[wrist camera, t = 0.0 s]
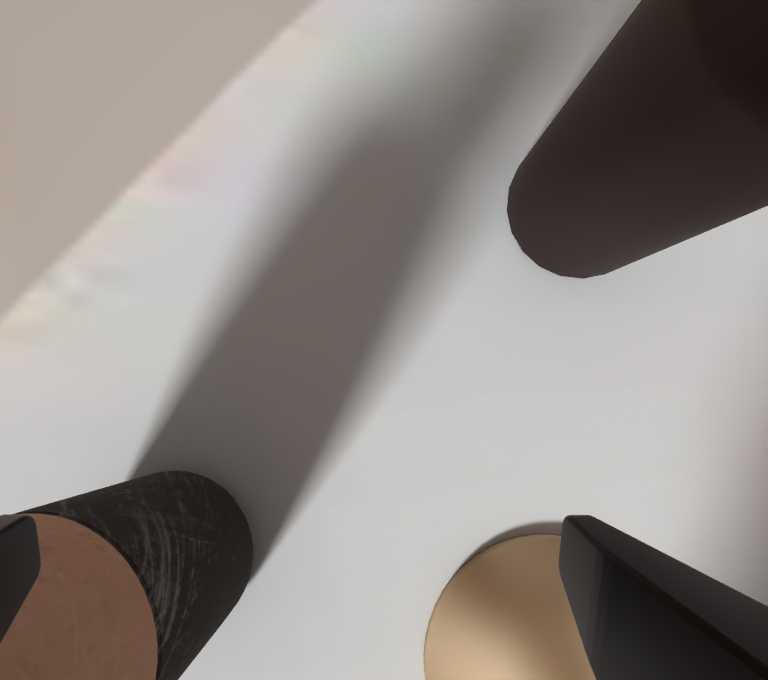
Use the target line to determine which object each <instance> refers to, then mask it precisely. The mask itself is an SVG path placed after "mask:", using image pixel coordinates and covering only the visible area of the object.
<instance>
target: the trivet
mask: <svg viewBox="0 0 768 680" xmlns="http://www.w3.org/2000/svg"><path fill="white" fill-rule="evenodd" d="M560 541H561V535H552V534H532V535H525V536H519V537H515V538H512V539H508V540H505V541H502V542H500V543H498V544H495V545H493V546H491V547H489V548H487V549H485V550H484V551H482V552H481V553H479V554H477V555H476V556H474V557H473V558H472V559H471V560H470V561H468V562H467V563H466V564H465V565H464V566H462V568H461V569H460V570H459V571H458V572H457V573H456V574H455V575H454V576H453V577H452V578H451V580H450V581H449V583H448V584H447V586H446V587H445V588H444V590H443V591H442V593H441V595H440V597H439V599H438V601H437V603H436V604H435V607H434V609H433V612H432V615H431V617H430V620H429V624H428V628H427V632H426V636H425V646H424V673H425V680H596V678H595V676H594V673H593V671H592V669H591V666H590V664H589V661H588V658H587V655H586V652H585V650H584V647H583V644H582V641H581V638H580V634H579V631H578V628H577V625H576V622H575V619H574V616H573V613H572V610H571V607H570V604H569V601H568V598H567V595H566V592H565V589H564V586H563V583H562V580H561V577H560V573H559V564H558V560H559V550H560Z"/></svg>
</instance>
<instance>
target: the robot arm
mask: <svg viewBox="0 0 768 680" xmlns="http://www.w3.org/2000/svg"><path fill="white" fill-rule="evenodd" d="M558 564H559V573H560V577H561V580H562V583H563V586H564V589H565V592H566V595H567V598H568V601H569V604H570V607H571V610H572V613H573V616H574V619H575V622H576V625H577V628H578V631H579V634H580V638H581V641H582V644H583V647H584V650H585V652H586V655H587V658H588V661H589V664H590V666H591V669H592V671H593V673H594V676H595V678H596V680H768V606H766V605H764V604H762V603H760V602H758V601H756V600H754V599H752V598H750V597H748V596H746V595H744V594H742V593H740V592H738V591H737V590H735V589H733V588H731V587H729V586H727V585H725V584H723V583H721V582H719V581H717V580H715V579H713V578H711V577H709V576H707V575H705V574H704V573H702V572H700V571H698V570H696V569H694V568H692V567H690V566H688V565H686V564H684V563H682V562H680V561H678V560H676V559H674V558H672V557H671V556H669V555H667V554H665V553H663V552H661V551H659V550H657V549H655V548H653V547H651V546H649V545H647V544H645V543H643V542H641V541H639V540H638V539H636V538H634V537H632V536H630V535H628V534H626V533H624V532H622V531H620V530H618V529H616V528H614V527H612V526H610V525H608V524H606V523H604V522H603V521H601V520H599V519H597V518H595V517H593V516H590V515H568V516H566V517H565V518H564V520H563V523H562V531H561V541H560V550H559V560H558ZM40 568H41V556H40V548H39V541H38V533H37V526H36V522H35V520H34V518H33V517H31V516H30V515H1V516H0V644H1V642H2V641H3V639H4V637H5V635H6V633H7V632H8V630H9V628H10V626H11V625H12V623H13V621H14V619H15V617H16V616H17V614H18V612H19V610H20V608H21V607H22V605H23V603H24V601H25V600H26V598H27V596H28V594H29V592H30V591H31V589H32V587H33V585H34V583H35V582H36V580H37V578H38V575H39V572H40Z"/></svg>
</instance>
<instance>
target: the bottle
mask: <svg viewBox="0 0 768 680" xmlns="http://www.w3.org/2000/svg"><path fill="white" fill-rule="evenodd" d="M766 206H768V0H642V1H641V2H640V3H639V5H638V6H637V7H636V9H635V10H634V11H633V13H632V14H631V15H630V17H629V18H628V19H627V21H626V22H625V24H624V25H623V26H622V28H621V29H620V30H619V32H618V33H617V34H616V36H615V37H614V38H613V40H612V41H611V43H610V44H609V45H608V47H607V48H606V49H605V51H604V52H603V53H602V55H601V56H600V57H599V59H598V60H597V62H596V63H595V64H594V66H593V67H592V68H591V70H590V71H589V72H588V74H587V75H586V76H585V78H584V79H583V81H582V82H581V83H580V85H579V86H578V87H577V89H576V90H575V91H574V93H573V94H572V95H571V97H570V98H569V100H568V101H567V102H566V104H565V105H564V106H563V108H562V109H561V110H560V112H559V113H558V114H557V116H556V117H555V119H554V120H553V121H552V123H551V124H550V125H549V127H548V128H547V129H546V131H545V132H544V133H543V135H542V136H541V137H540V139H539V140H538V142H537V143H536V144H535V146H534V147H533V148H532V150H531V151H530V152H529V154H528V155H527V156H526V158H525V159H524V161H523V162H522V163H521V165H520V166H519V167H518V169H517V171H516V174H515V176H514V178H513V180H512V183H511V185H510V187H509V195H508V205H507V213H508V218H509V222H510V227H511V231H512V234H513V235H514V237H515V239H516V241H517V242H518V244H519V246H520V247H521V249H522V251H523V252H524V253H525V254H526V255H527V256H528V257H530V258H531V259H532V260H533V261H534V262H535V263H536V264H537V265H538V266H540V267H542V268H544V269H546V270H549V271H551V272H553V273H555V274H557V275H560V276H567V277H575V278H588V277H593V276H598V275H603V274H606V273H609V272H611V271H613V270H616V269H618V268H620V267H623V266H625V265H628V264H630V263H632V262H635V261H637V260H640V259H642V258H644V257H647V256H649V255H651V254H654V253H656V252H659V251H661V250H663V249H666V248H668V247H670V246H673V245H675V244H678V243H680V242H682V241H685V240H687V239H689V238H692V237H694V236H697V235H699V234H701V233H704V232H706V231H708V230H711V229H713V228H716V227H718V226H720V225H723V224H725V223H728V222H730V221H732V220H735V219H737V218H739V217H742V216H744V215H747V214H749V213H751V212H754V211H756V210H758V209H761V208H763V207H766Z"/></svg>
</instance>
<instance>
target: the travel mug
mask: <svg viewBox="0 0 768 680" xmlns="http://www.w3.org/2000/svg"><path fill="white" fill-rule="evenodd" d="M12 515H30V516H31V517H33V518H34V520H35V522H36V526H37V533H38V541H39V548H40V556H41V568H40V572H39V575H38V578H37V580H36V582H35V583H34V585H33V587H32V589H31V591H30V592H29V594H28V596H27V598H26V600H25V601H24V603H23V605H22V607H21V608H20V610H19V612H18V614H17V616H16V617H15V619H14V621H13V623H12V625H11V626H10V628H9V630H8V632H7V633H6V635H5V637H4V639H3V641H2V642H1V644H0V680H178V679H179V678H180V676H181V675H182V674H183V673H184V671H185V670H186V669H187V668H188V666H189V665H190V664H191V662H192V661H193V660H194V659H195V657H196V656H197V655H198V654H199V652H200V651H201V650H202V648H203V647H204V646H205V645H206V643H207V642H208V641H209V639H210V638H211V637H212V636H213V634H214V633H215V632H216V631H217V629H218V628H219V627H220V625H221V624H222V623H223V621H224V620H225V619H226V617H227V616H228V615H229V613H230V612H231V611H232V609H233V608H234V607H235V605H236V604H237V602H238V601H239V599H240V597H241V596H242V594H243V592H244V590H245V588H246V585H247V582H248V580H249V576H250V572H251V567H252V558H253V546H252V539H251V534H250V530H249V526H248V523H247V521H246V518H245V516H244V514H243V512H242V510H241V509H240V507H239V505H238V504H237V503H236V501H235V500H234V499H233V498H232V496H231V495H230V494H229V493H228V492H227V491H226V490H224V489H223V488H222V487H221V486H219V485H218V484H217V483H215V482H213V481H212V480H210V479H208V478H205V477H203V476H201V475H197V474H194V473H190V472H183V471H167V472H161V473H155V474H151V475H147V476H144V477H140V478H136V479H133V480H130V481H126V482H123V483H119V484H116V485H112V486H109V487H105V488H102V489H98V490H95V491H91V492H88V493H84V494H81V495H77V496H74V497H71V498H67V499H64V500H60V501H57V502H53V503H50V504H46V505H43V506H39V507H36V508H32V509H29V510H25V511H22V512H19V513H15V514H12Z"/></svg>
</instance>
